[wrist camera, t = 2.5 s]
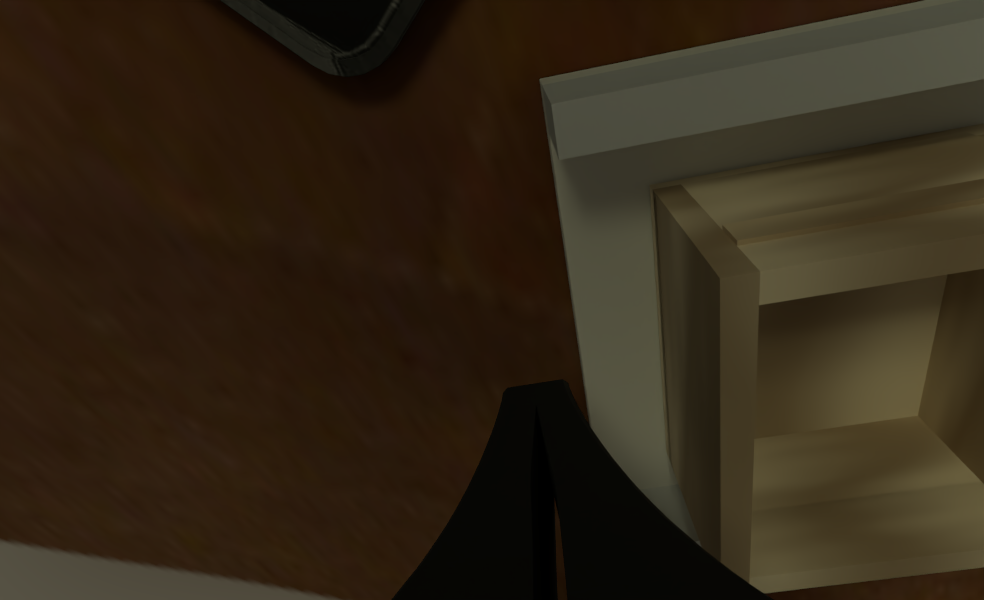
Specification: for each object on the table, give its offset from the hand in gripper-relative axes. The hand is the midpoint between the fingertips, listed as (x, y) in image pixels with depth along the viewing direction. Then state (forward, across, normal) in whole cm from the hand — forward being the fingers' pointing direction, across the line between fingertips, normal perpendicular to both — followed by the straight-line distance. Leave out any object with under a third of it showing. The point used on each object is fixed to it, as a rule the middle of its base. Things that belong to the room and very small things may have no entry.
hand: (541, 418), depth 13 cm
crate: (+2, -7, 0) cm, 7 cm away
